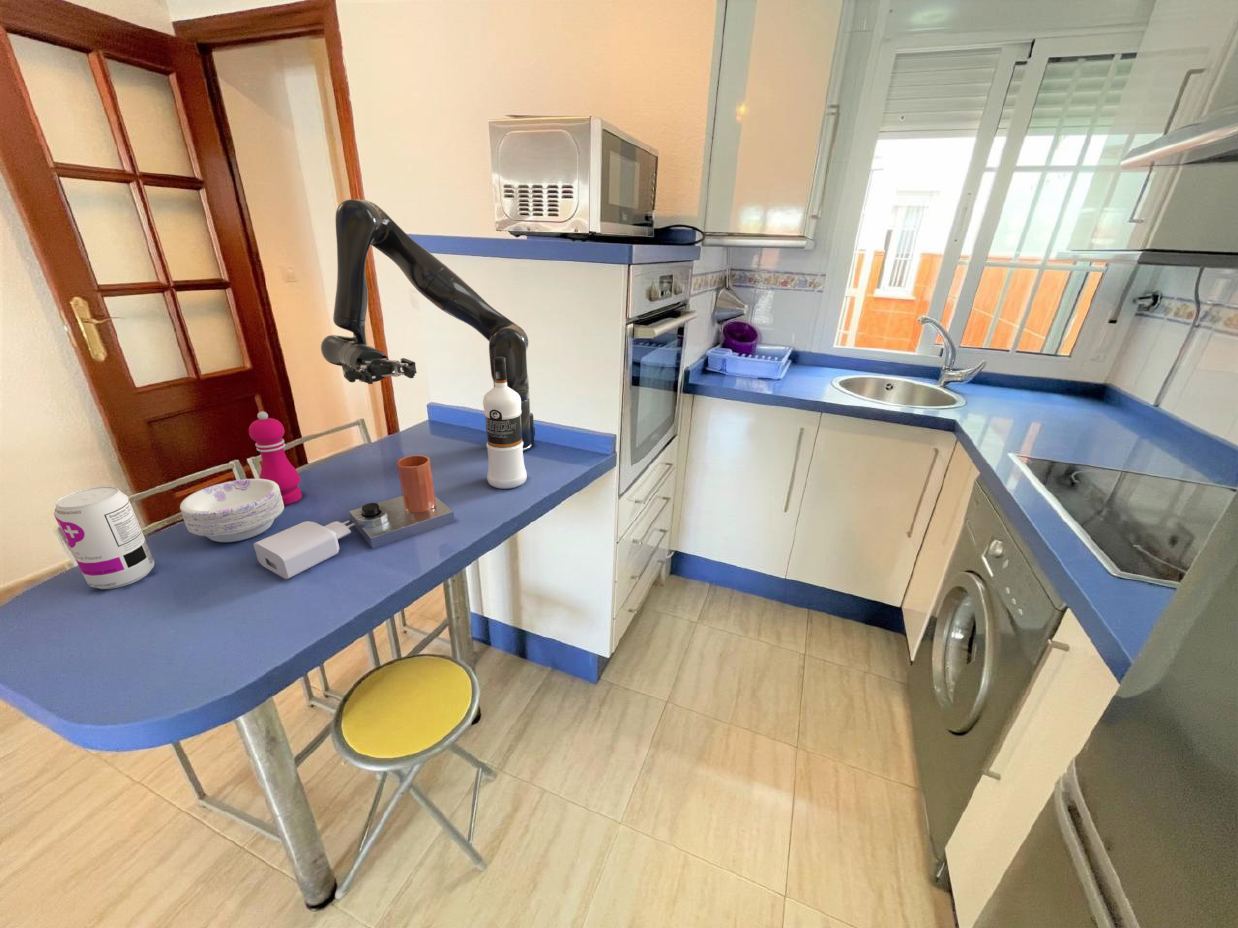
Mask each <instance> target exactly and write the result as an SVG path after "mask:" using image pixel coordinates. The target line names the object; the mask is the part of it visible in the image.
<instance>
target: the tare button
mask: <svg viewBox="0 0 1238 928" xmlns="http://www.w3.org/2000/svg"><path fill="white" fill-rule="evenodd" d="M377 503H378V502H370V503H369V502H368V503H365V504H364V505H362V506H361V508H362V512H363V516H364V517H366V518H368V517H374V516H377V515H379V514H380V509H379V505H378V504H377Z"/></svg>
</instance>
